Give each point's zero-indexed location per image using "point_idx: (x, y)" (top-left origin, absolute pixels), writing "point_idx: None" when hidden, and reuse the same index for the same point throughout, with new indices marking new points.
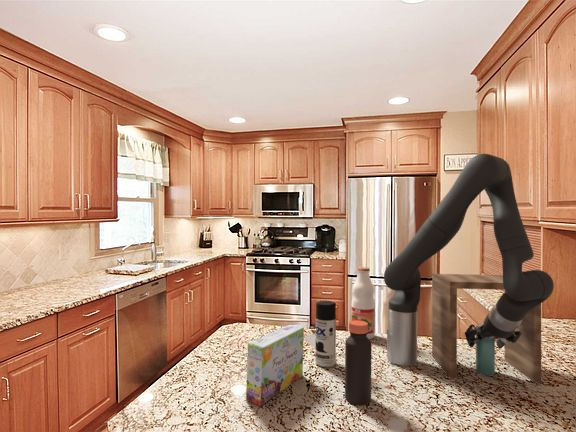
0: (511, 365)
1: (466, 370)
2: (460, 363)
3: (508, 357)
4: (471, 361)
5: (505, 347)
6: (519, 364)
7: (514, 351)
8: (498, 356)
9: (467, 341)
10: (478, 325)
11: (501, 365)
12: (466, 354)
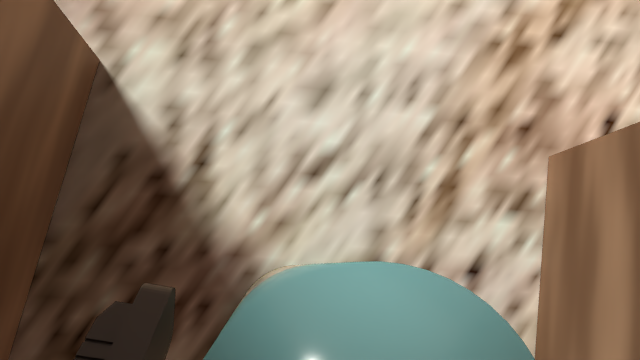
0: (543, 237)
1: None
2: (208, 170)
3: (572, 195)
4: (313, 145)
5: (620, 139)
6: (568, 343)
7: (630, 275)
8: (549, 88)
9: (99, 322)
10: (300, 317)
11: (479, 228)
12: (354, 30)
